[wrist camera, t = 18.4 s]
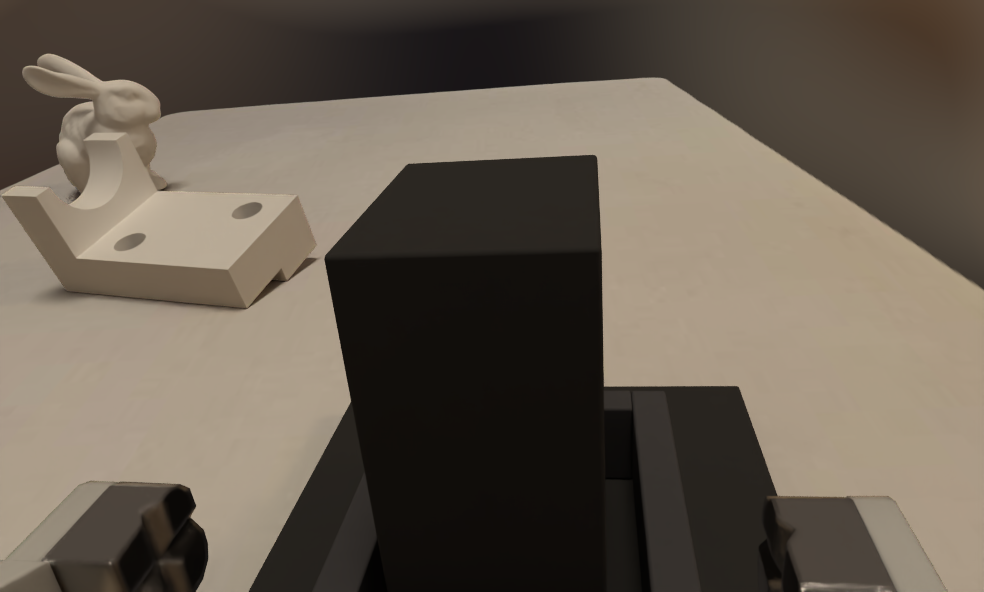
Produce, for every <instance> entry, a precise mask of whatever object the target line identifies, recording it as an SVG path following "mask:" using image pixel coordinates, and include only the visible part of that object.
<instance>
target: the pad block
mask: <svg viewBox="0 0 984 592" xmlns="http://www.w3.org/2000/svg"><path fill="white" fill-rule="evenodd" d="M325 265H326V270H327V275H328V281H329V286H330V291H331V296H332V302H333V307H334V312H335V318H336V323H337V328H338V333H339V339H340V344H341V349H342V355H343V360H344V365H345V371H346V376H347V381H348V386H349V392H350V397H351V402H352V408H353V413H354V418H355V424H356V429H357V434H358V439H359V445H360V450H361V455H362V461H363V466H364V471H365V476H366V482H367V487H368V492H369V498H370V503H371V508H372V514H373V519H374V524H375V529H376V535H377V540H378V545H379V551H380V556H381V561H382V567H383V572H384V577H385V582H386V588H387V592H607V558H606V496H605V434H604V372H603V310H602V250H601V229H600V208H599V186H598V165H597V157H596V156H595V155H582V156H561V157H541V158H520V159H499V160H479V161H458V162H437V163H417V164H408V165H406V166H405V167H404V169H403V170H402V171H401V172H400V173H399V174H398V175H397V176H396V177H395V179H394V180H393V181H392V182H391V183H390V184H389V185H388V186H387V187H386V189H385V190H384V191H383V192H382V193H381V194H380V195H379V196H378V197H377V199H376V200H375V201H374V202H373V203H372V204H371V205H370V206H369V207H368V209H367V210H366V211H365V212H364V213H363V214H362V215H361V216H360V218H359V219H358V220H357V221H356V222H355V223H354V224H353V225H352V226H351V228H350V229H349V230H348V231H347V232H346V233H345V234H344V235H343V236H342V238H341V239H340V240H339V241H338V242H337V243H336V244H335V245H334V246H333V248H332V249H331V250H330V251H329V252H328V253H327V254H326V255H325Z"/></svg>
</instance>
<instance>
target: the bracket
mask: <svg viewBox="0 0 984 592" xmlns="http://www.w3.org/2000/svg"><path fill="white" fill-rule="evenodd" d="M83 142H84V143H85V146H86V148H87V151H88V154H89V159H90V175H89V179H88V183H87V185H86V187H85V189H84V191H83V192H82V194H81V195H80V196H79V197H78V198H77V199H76V200H75V201H74V202H72V203H70V204H69V205H68V204H66V203H64V202H63V201H62V200H60V199H59V198H58V197H57V196H56V195H55V194H54V193H53V191H52V190H51V189H50V187H26V186H14V187H13V188H11V189H10V190H8V191H7V192H5V193H4V194H2V195H1V196H2V198H3V199H4V201H5V202H6V204H7V205H8V206H9V208H10V209H11V211H12V212H13V214H14V215H15V217H16V218H17V220H18V221H19V222H20V224H21V225H22V227H23V228H24V230H25V231H26V233H27V234H28V236H29V237H30V238H31V240H32V241H33V243H34V244H35V246H36V247H37V249H38V250H39V252H40V253H41V254H42V256H43V257H44V259H45V260H46V262H47V263H48V265H49V266H50V268H51V269H52V271H53V272H54V273H55V275H56V276H57V278H58V279H59V281H60V282H61V284H62V285H63V287H64V288H65V289H66V291H70V292H80V293H91V294H101V295H112V296H122V297H132V298H143V299H153V300H164V301H174V302H184V303H195V304H205V305H216V306H226V307H236V308H248V307H249V306H250V304H251V303H252V302H253V301H254V300H255V299H256V297H257V296H258V295H259V294H260V293H261V291H262V290H263V289H264V288H265V287H266V286H267V284H268V283H269V282H270V281H271V280H280V281H288V279H289V278H290V277H291V276H292V275H293V273H294V272H295V271H296V270H297V269H298V267H299V266H300V265H301V264H302V262H303V261H304V260H305V259H306V258H307V256H308V255H309V254H310V253H311V252H312V250H313V249H314V248H315V247H316V245H317V244H316V241H315V239H314V236H313V234H312V231H311V228H310V226H309V223H308V221H307V218H306V216H305V213H304V210H303V208H302V205H301V203H300V200H299V197H298V195H277V194H243V193H210V192H176V191H157V189H156V187H155V185H154V183H153V181H152V179H151V178H150V176H149V174H148V172H147V170H146V168H145V166H144V164H143V162H142V160H141V159H140V157H139V155H138V153H137V151H136V149H135V147H134V145H133V143H132V141H131V140H130V138H129V136H128V134H127V133H93V134H92V135H90V136H89V137H87V138H86V139H84V140H83Z"/></svg>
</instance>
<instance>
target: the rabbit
mask: <svg viewBox="0 0 984 592" xmlns="http://www.w3.org/2000/svg"><path fill="white" fill-rule="evenodd" d="M37 64H38V66H39V67H37V66H26V67H25V68H24V69H23V77H24V79H25V80H26V82H27V83H28V84H29V85H30V86H31V87H32V88H34V89H35V90H37V91H39V92H41V93H43V94H46V95H49V96H53V97H63V98H64V97H73V98H86V99H91V100H93V102H86V103H82V104H79V105H77V106H75V107H73V108H72V109H71V110H70V111H69V112H68V113H67V114H66V115H65V116H64V118H63V122H62V129H61V132H60V134H59V143H58V144H57V147H56V150H57V157H58V159H59V163H60V165H61V166H62V168H63V169H64V172H65V174H66V176H67V178H68V180H69V181H70V182H71V183H72V185H73V186H75V187H76V188H77V189H78V191H79V192H80V194H82V192H83V191H84V189H85V187H86V185H87V183H88V179H89V175H90V159H89V154H88V151H87V148H86V146H85V143H84V142H83V140H84V139H86V138H87V137H89V136H90V135H92V134H93V133H127V134H128V136H129V138H130V140H131V141H132V143H133V145H134V147H135V149H136V151H137V153H138V155H139V157H140V159H141V160H142V162H143V164H144V166H145V168H146V170H147V172H148V174H149V176H150V178H151V179H152V181H153V183H154V185H155V187H156V189H157V191H158V190H161V189H164V188H165V187H167V183H166V181H165V180H164V179H163V178H161V177H159V175H158V174H157V173H156V172H155V171H153V170H151V169H150V162H151V161H152V159H153V158H154V156H155V152H156V147H157V142H156V139H155V136H154V134H153V132H152V131H151V129H150V128H149V124H151V123H153V122H155V121H157V120H158V119H159V118H160V115H161V111H160V102H159V100H158V98H157V97H156V96H155V95H154V94H153V93H152V92H150V91H149V90H148V89H147V88H145V87H144V86H142V85H140V84H138V83H135V82H132V81H128V80H114V81H107V82H103V81H101V80H99V79H98V78H96V77H95V76H93V75H92V74H90V73H89V72H88V71H86V70H84V69H82V68H81V67H80V66H78V65H76V64H74V63H72V62H71V61H69V60H67V59H65V58H61V57H60V56H57V55H53V54H45V55H43V56H41V57H40V58H39V59H38V63H37Z"/></svg>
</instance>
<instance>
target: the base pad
mask: <svg viewBox="0 0 984 592" xmlns="http://www.w3.org/2000/svg"><path fill="white" fill-rule="evenodd" d="M604 434H605V496H606V558H607V592H759V589H758V574H757V560H758V546H759V545H760V544H761V543H762V542H763V541H764V540H766V539H767V538H766V535H765V532H764V528H763V525H762V522H761V516H762V507H763V502H764V499H765V497H766V496H777V493H776V490H775V488H774V485H773V482H772V479H771V476H770V474H769V471H768V468H767V465H766V462H765V459H764V457H763V454H762V451H761V448H760V445H759V443H758V440H757V437H756V434H755V431H754V429H753V426H752V423H751V420H750V417H749V414H748V412H747V409H746V406H745V403H744V400H743V398H742V395H741V392H740V389H739V387H737V386H671V387H604ZM249 592H387V588H386V582H385V577H384V572H383V567H382V561H381V556H380V551H379V545H378V540H377V535H376V529H375V524H374V519H373V514H372V508H371V503H370V498H369V492H368V487H367V482H366V476H365V471H364V466H363V461H362V455H361V450H360V445H359V439H358V434H357V429H356V424H355V418H354V413H353V408H352V402H351V403H350V405H349V407H348V409H347V410H346V412H345V414H344V416H343V418H342V420H341V421H340V423H339V425H338V427H337V429H336V431H335V433H334V434H333V436H332V438H331V440H330V442H329V444H328V446H327V447H326V449H325V451H324V453H323V455H322V457H321V459H320V460H319V462H318V464H317V466H316V468H315V470H314V471H313V473H312V475H311V477H310V479H309V481H308V483H307V484H306V486H305V488H304V490H303V492H302V494H301V496H300V497H299V499H298V501H297V503H296V505H295V507H294V509H293V510H292V512H291V514H290V516H289V518H288V520H287V521H286V523H285V525H284V527H283V529H282V531H281V533H280V534H279V536H278V538H277V540H276V542H275V544H274V546H273V547H272V549H271V551H270V553H269V555H268V557H267V559H266V560H265V562H264V564H263V566H262V568H261V570H260V571H259V573H258V575H257V577H256V579H255V581H254V583H253V584H252V586H251V588H250V590H249Z"/></svg>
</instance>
